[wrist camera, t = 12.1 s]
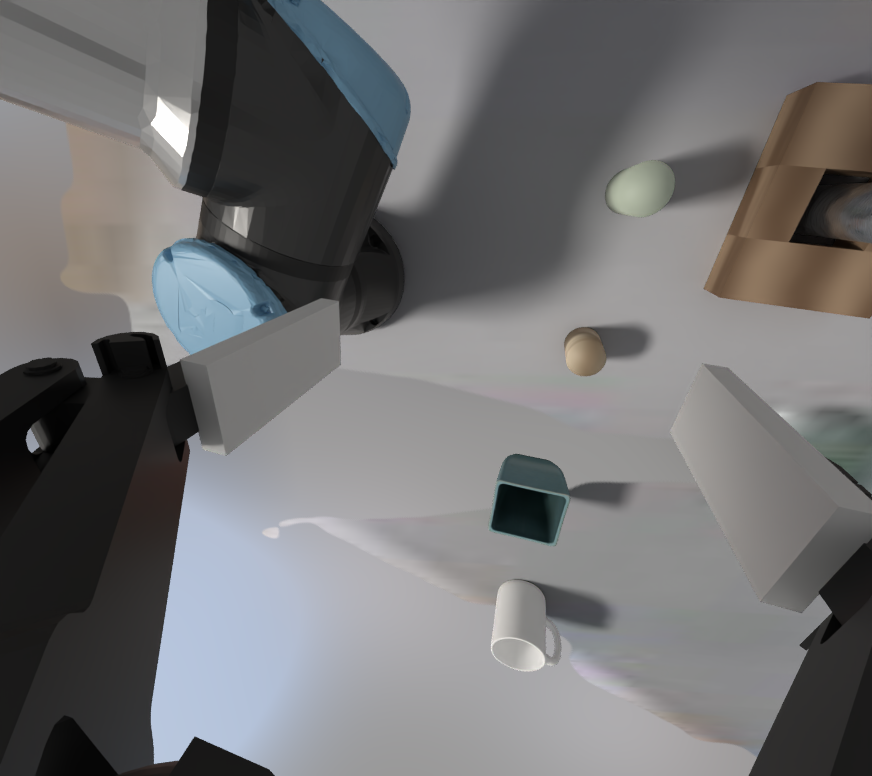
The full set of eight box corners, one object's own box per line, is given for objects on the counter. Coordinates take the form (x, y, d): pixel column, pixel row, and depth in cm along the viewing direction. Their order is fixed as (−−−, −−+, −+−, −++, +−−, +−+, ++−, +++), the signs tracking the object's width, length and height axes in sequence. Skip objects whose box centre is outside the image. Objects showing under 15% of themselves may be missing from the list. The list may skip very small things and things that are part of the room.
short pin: (560, 355, 45) (562, 372, 41) (569, 324, 43) (571, 338, 39) (594, 362, 45) (599, 379, 40) (604, 330, 43) (611, 344, 38)
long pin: (776, 231, 35) (873, 244, 24) (800, 183, 33) (916, 175, 23) (826, 236, 34) (947, 252, 24) (853, 187, 32) (998, 181, 22)
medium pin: (599, 211, 38) (611, 214, 31) (612, 166, 36) (627, 158, 29) (641, 216, 37) (663, 219, 30) (656, 170, 35) (683, 162, 28)
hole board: (703, 288, 38) (719, 297, 35) (786, 95, 31) (817, 82, 27) (838, 307, 36) (869, 318, 33) (964, 103, 29) (1021, 90, 25)
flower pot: (567, 451, 51) (571, 496, 43) (554, 499, 55) (555, 548, 47) (503, 438, 53) (496, 480, 45) (495, 486, 57) (487, 531, 49)
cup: (514, 571, 64) (508, 630, 55) (574, 606, 64) (578, 671, 55) (489, 593, 68) (481, 651, 59) (545, 626, 68) (545, 689, 59)
